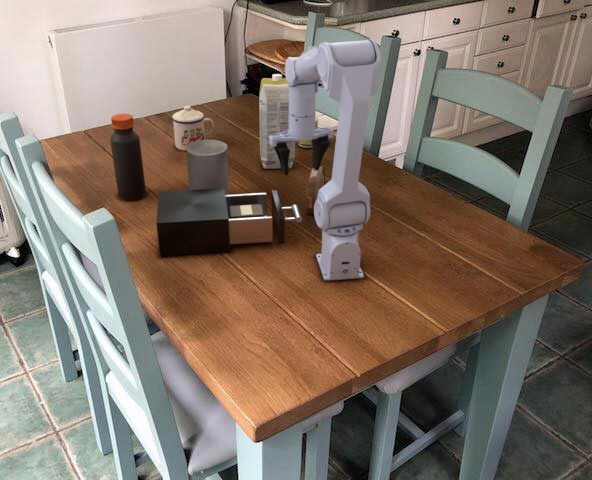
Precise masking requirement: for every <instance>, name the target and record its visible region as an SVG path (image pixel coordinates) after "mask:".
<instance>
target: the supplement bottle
mask: <svg viewBox="0 0 592 480" xmlns="http://www.w3.org/2000/svg"><path fill="white" fill-rule="evenodd" d="M315 128H319V118H318V117H317V116H316V115H315ZM297 144H298V146H299V147H301V148H304V149H311V148H312V149H313V146H312V140H308V141H300V142H297Z"/></svg>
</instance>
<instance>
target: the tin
mask: <svg viewBox="0 0 592 480" xmlns="http://www.w3.org/2000/svg"><path fill="white" fill-rule="evenodd" d="M324 185H326V170H325V166H324V165H322V166H321V165H320V168H319V170H315V169H314V168H313V166H312V168H311V170H310V172H309V176H308V178H307V182H306V188H305V199H306V212H307V213H308V214H314V205H315V202H316V200H317V196H318V192H319V189H321V188H322V187H323V186H324Z"/></svg>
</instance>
